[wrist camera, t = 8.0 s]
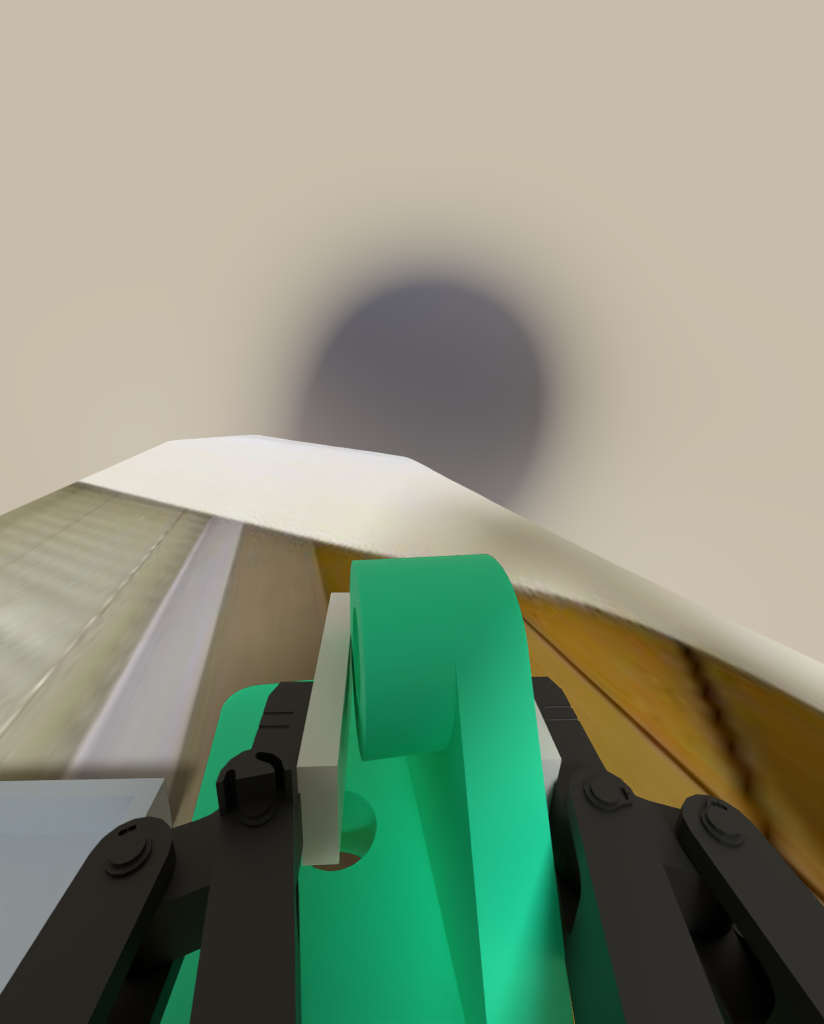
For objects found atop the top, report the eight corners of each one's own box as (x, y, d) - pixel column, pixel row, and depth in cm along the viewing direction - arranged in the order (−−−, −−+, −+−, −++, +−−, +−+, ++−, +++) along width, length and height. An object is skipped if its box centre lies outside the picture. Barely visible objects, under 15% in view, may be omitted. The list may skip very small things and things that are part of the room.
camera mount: (233, 741, 18) (204, 493, 14) (421, 718, 19) (434, 489, 16) (93, 1395, 7) (-182, 974, 3) (564, 1217, 8) (709, 806, 5)
